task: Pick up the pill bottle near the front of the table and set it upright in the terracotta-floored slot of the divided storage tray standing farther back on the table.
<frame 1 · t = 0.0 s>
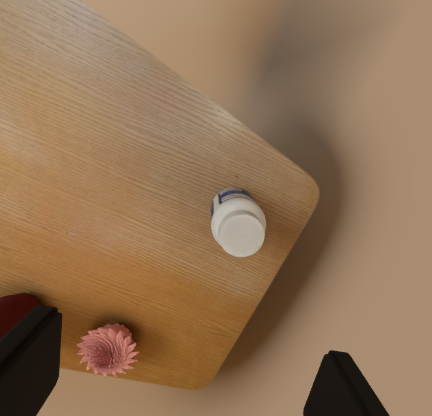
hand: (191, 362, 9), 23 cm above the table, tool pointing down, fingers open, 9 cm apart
flower: (118, 331, 35), on the table
pill bottle: (232, 207, 31), on the table
mug: (24, 311, 34), on the table
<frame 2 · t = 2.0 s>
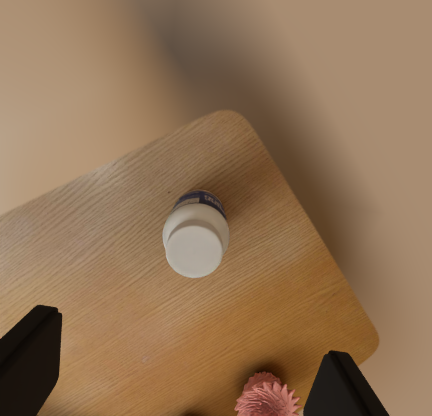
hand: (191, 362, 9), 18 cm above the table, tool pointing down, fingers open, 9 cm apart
flower: (261, 378, 33), on the table
pill bottle: (199, 212, 27), on the table
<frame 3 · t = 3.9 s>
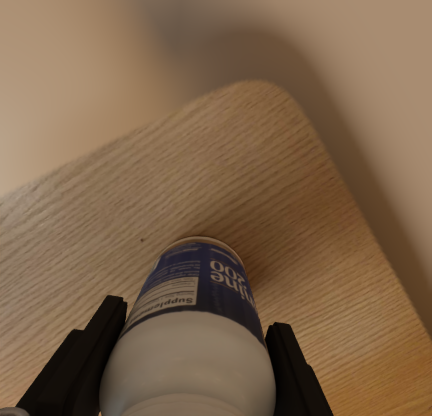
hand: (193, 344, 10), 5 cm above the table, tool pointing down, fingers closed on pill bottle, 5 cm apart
pill bottle: (199, 275, 14), on the table, touching gripper
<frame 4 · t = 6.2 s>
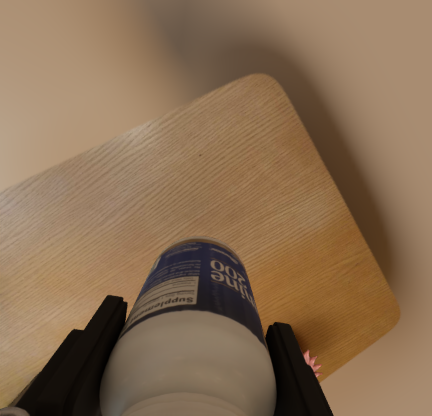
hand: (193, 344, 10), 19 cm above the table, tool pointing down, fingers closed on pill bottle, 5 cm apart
pill bottle: (199, 274, 14), point 14 cm above the table, touching gripper
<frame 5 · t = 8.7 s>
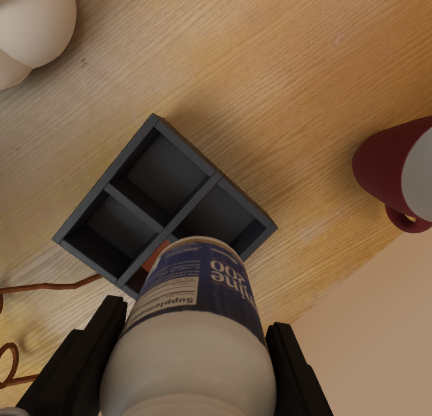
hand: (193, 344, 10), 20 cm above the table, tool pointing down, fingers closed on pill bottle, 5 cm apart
divided storage tray: (173, 218, 29), on the table
white animal figurine: (23, 43, 24), on the table
glasses: (61, 317, 32), on the table
pill bottle: (199, 275, 14), point 15 cm above the table, touching gripper
mug: (371, 171, 28), on the table
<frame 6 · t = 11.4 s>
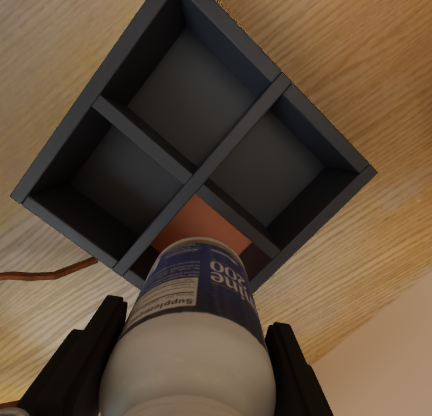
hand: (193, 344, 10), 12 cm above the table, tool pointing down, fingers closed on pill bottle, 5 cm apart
divided storage tray: (198, 173, 19), on the table
glasses: (41, 322, 23), on the table
pill bottle: (199, 275, 14), point 7 cm above the table, touching gripper
when the fingers open (6 cm above the table, at t = 13.5 s): pill bottle stays where it is, resting on divided storage tray.
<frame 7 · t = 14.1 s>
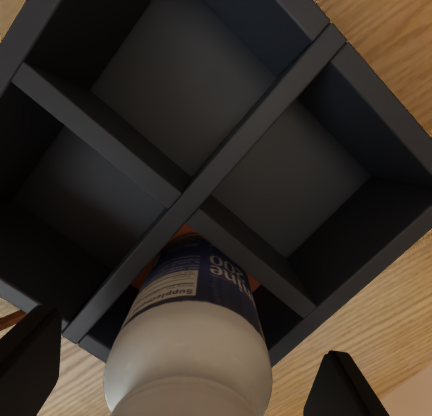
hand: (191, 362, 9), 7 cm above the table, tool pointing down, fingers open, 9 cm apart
divided storage tray: (193, 185, 14), on the table
pill bottle: (199, 271, 15), point 1 cm above the table, touching divided storage tray
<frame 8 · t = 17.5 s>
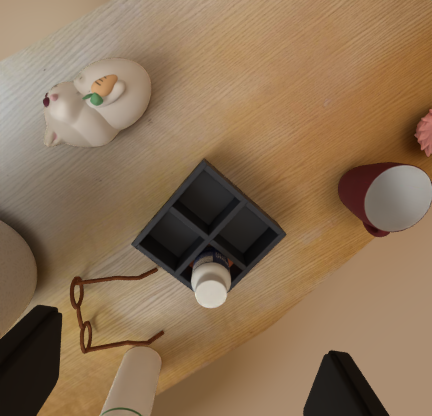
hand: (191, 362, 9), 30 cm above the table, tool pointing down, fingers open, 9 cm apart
divided storage tray: (209, 227, 39), on the table
white animal figurine: (109, 109, 35), on the table
cylindrical container: (142, 361, 46), on the table
flower: (424, 130, 36), on the table
glasses: (124, 302, 43), on the table
pill bottle: (211, 258, 40), point 1 cm above the table, touching divided storage tray
mug: (352, 191, 39), on the table
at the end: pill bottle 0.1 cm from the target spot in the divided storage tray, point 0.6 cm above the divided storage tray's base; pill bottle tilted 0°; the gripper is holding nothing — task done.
